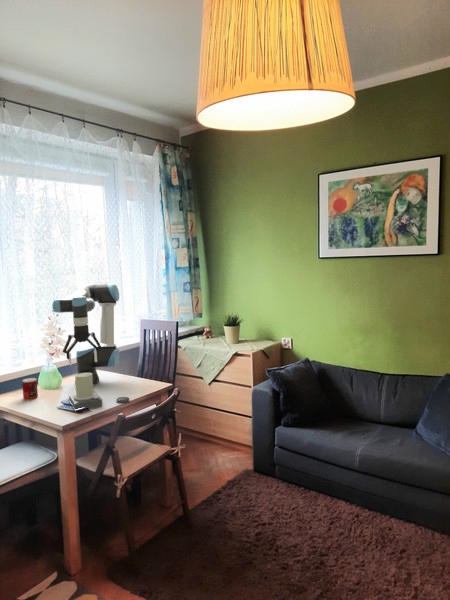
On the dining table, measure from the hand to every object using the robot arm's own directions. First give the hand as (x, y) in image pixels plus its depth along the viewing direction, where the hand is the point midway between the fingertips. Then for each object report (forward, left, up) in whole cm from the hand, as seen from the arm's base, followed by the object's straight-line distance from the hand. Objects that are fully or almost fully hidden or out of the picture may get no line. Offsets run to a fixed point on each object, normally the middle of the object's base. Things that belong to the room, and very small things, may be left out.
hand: (83, 363), depth 235 cm
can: (+1, 0, -18) cm, 18 cm away
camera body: (+1, 0, -23) cm, 23 cm away
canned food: (-29, -25, -23) cm, 45 cm away
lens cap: (+8, +19, -23) cm, 31 cm away
